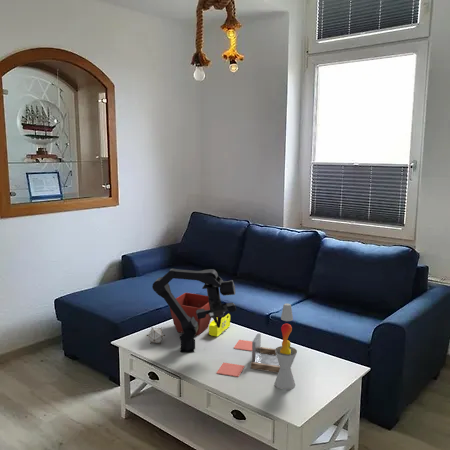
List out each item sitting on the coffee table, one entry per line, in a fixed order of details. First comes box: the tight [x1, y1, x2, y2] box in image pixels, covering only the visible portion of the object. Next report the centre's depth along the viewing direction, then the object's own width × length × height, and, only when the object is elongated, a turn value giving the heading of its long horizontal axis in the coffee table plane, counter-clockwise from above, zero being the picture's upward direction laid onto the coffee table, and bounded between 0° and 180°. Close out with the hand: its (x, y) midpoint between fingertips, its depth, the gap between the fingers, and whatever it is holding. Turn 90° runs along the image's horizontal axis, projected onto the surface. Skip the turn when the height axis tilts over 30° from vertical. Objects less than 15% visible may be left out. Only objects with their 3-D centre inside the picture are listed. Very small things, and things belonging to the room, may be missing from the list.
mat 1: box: [215, 362, 245, 378], centre depth 206 cm, size 10×10×1 cm
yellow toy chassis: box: [208, 313, 231, 337], centre depth 247 cm, size 16×6×8 cm, turn 155°
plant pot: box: [169, 292, 212, 337], centre depth 248 cm, size 19×19×17 cm
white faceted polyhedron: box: [146, 326, 166, 345], centre depth 233 cm, size 9×8×10 cm
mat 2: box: [233, 339, 253, 352], centre depth 230 cm, size 10×10×1 cm
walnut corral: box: [250, 346, 280, 373], centre depth 213 cm, size 15×17×2 cm
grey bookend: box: [251, 332, 280, 366], centre depth 213 cm, size 12×10×11 cm
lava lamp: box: [274, 303, 298, 391], centre depth 191 cm, size 9×9×35 cm
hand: (218, 327), depth 222 cm, fingers closed
